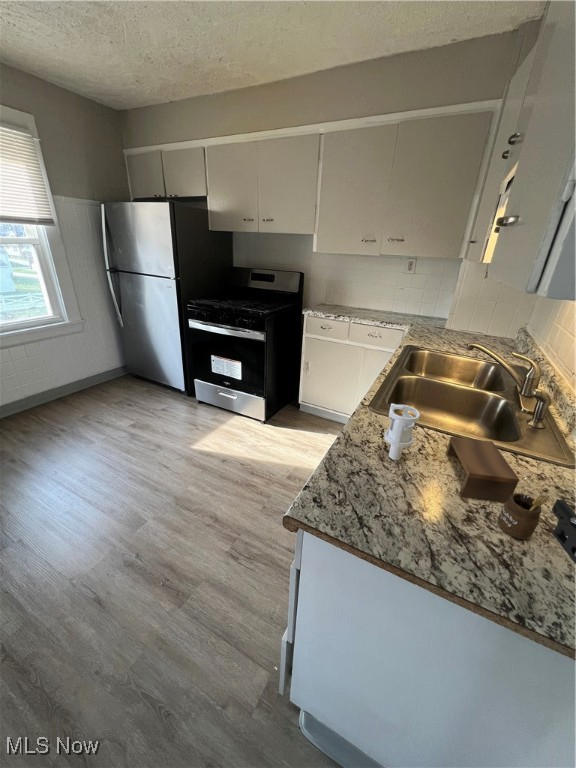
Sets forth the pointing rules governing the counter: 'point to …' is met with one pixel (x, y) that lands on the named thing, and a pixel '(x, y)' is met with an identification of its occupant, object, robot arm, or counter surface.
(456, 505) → the counter surface
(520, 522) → the utensil holder
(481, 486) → the wooden pedestal stand
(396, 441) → the strainer
